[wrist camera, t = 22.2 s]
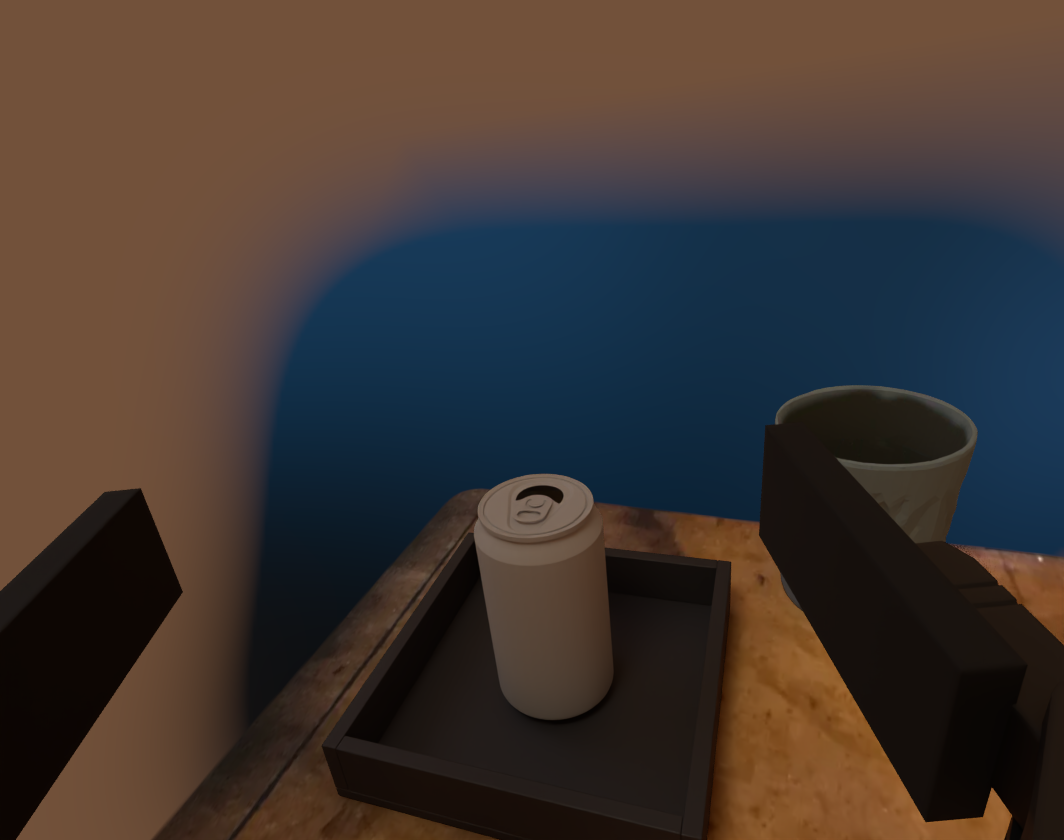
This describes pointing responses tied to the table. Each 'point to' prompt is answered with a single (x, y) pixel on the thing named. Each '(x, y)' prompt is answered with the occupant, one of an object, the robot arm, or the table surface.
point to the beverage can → (546, 594)
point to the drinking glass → (893, 450)
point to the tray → (547, 745)
